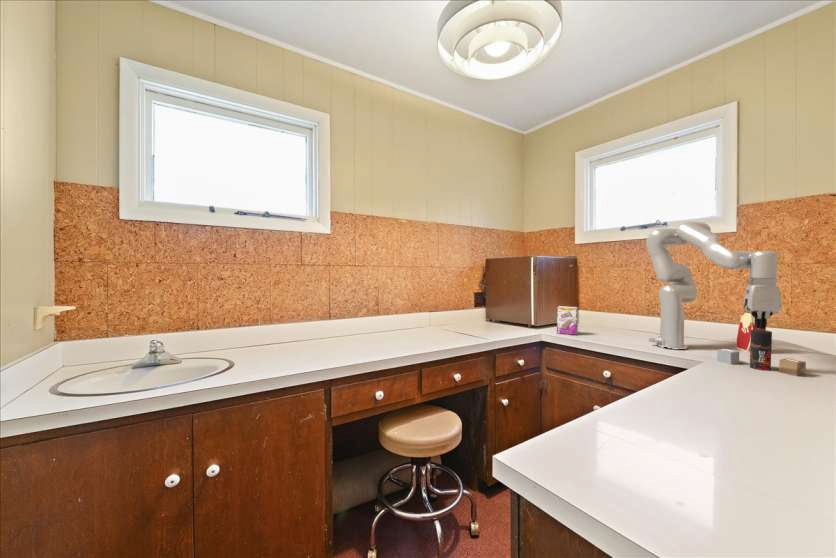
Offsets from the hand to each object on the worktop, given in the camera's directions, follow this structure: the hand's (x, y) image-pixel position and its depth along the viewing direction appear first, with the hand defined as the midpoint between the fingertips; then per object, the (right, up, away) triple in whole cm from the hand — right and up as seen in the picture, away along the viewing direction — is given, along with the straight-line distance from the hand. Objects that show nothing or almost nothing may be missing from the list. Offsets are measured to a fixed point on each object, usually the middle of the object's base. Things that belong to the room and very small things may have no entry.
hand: (760, 328), depth 135 cm
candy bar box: (-47, -14, +69) cm, 84 cm away
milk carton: (+23, -15, +27) cm, 38 cm away
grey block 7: (-5, -16, +9) cm, 19 cm away
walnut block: (+6, -17, -6) cm, 19 cm away
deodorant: (0, -16, 0) cm, 16 cm away
